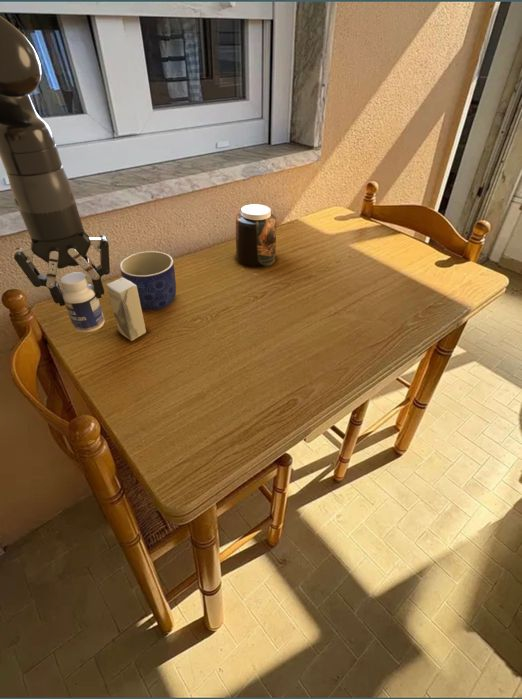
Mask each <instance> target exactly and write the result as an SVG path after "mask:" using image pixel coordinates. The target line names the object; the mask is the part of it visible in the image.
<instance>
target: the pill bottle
mask: <svg viewBox="0 0 522 699" xmlns="http://www.w3.org/2000/svg"><path fill="white" fill-rule="evenodd" d="M60 282H61V285H62V288H63V290H62V291H61V292H62V298H63V300H64V303H65V305H64V307H65V309H66V311H67V313H68V316H69V319H70V322H71V324H72V326H73V329H74V330H75V331H77V332H79V333H92V332H95V331H98V330H99V329H101V328H102V327H103V326H104V324H105V316H104V313H103V310H102V306H101V303H100V299H98V298H97V295H96V292H95V289H94V286H93V284H91V283H89V280H88V277H87V274H86V273H84V272H80V271H74V272H69V273H67V274H64V275H63V276H62V277H61V278H60Z"/></svg>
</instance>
